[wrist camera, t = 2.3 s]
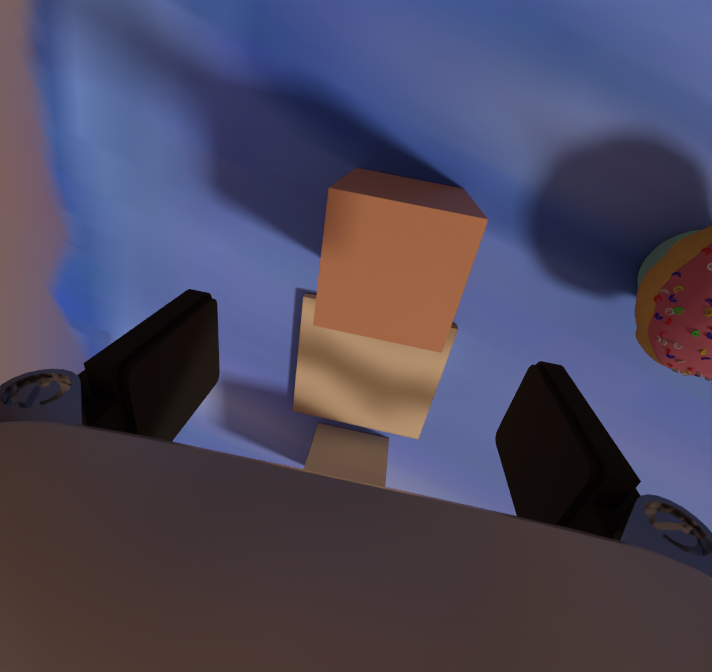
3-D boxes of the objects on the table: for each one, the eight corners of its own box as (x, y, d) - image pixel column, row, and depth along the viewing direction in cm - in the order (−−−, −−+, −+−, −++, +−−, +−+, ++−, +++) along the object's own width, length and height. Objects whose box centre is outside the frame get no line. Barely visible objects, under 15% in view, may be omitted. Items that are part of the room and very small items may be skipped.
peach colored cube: (356, 167, 21) (328, 187, 14) (464, 188, 21) (488, 219, 14) (341, 269, 24) (312, 325, 18) (433, 288, 24) (441, 352, 17)
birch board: (305, 293, 26) (303, 296, 25) (457, 325, 25) (458, 329, 25) (294, 406, 31) (292, 411, 31) (418, 434, 31) (418, 439, 30)
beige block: (318, 422, 32) (292, 503, 25) (388, 438, 32) (382, 524, 25) (311, 469, 35) (287, 551, 28) (375, 483, 35) (366, 570, 28)
